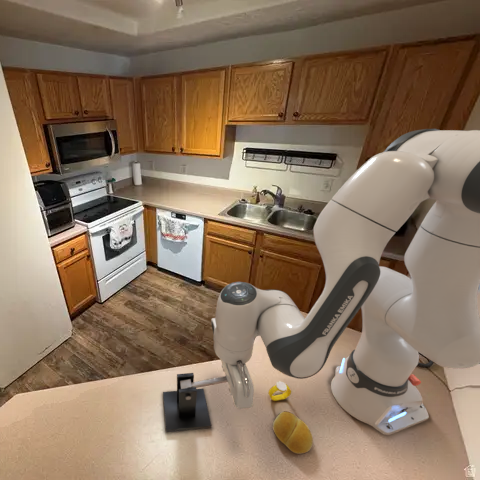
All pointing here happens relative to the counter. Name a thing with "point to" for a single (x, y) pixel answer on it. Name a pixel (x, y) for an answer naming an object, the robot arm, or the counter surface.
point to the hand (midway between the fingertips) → (229, 380)
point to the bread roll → (292, 432)
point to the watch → (282, 388)
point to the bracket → (185, 407)
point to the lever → (202, 382)
